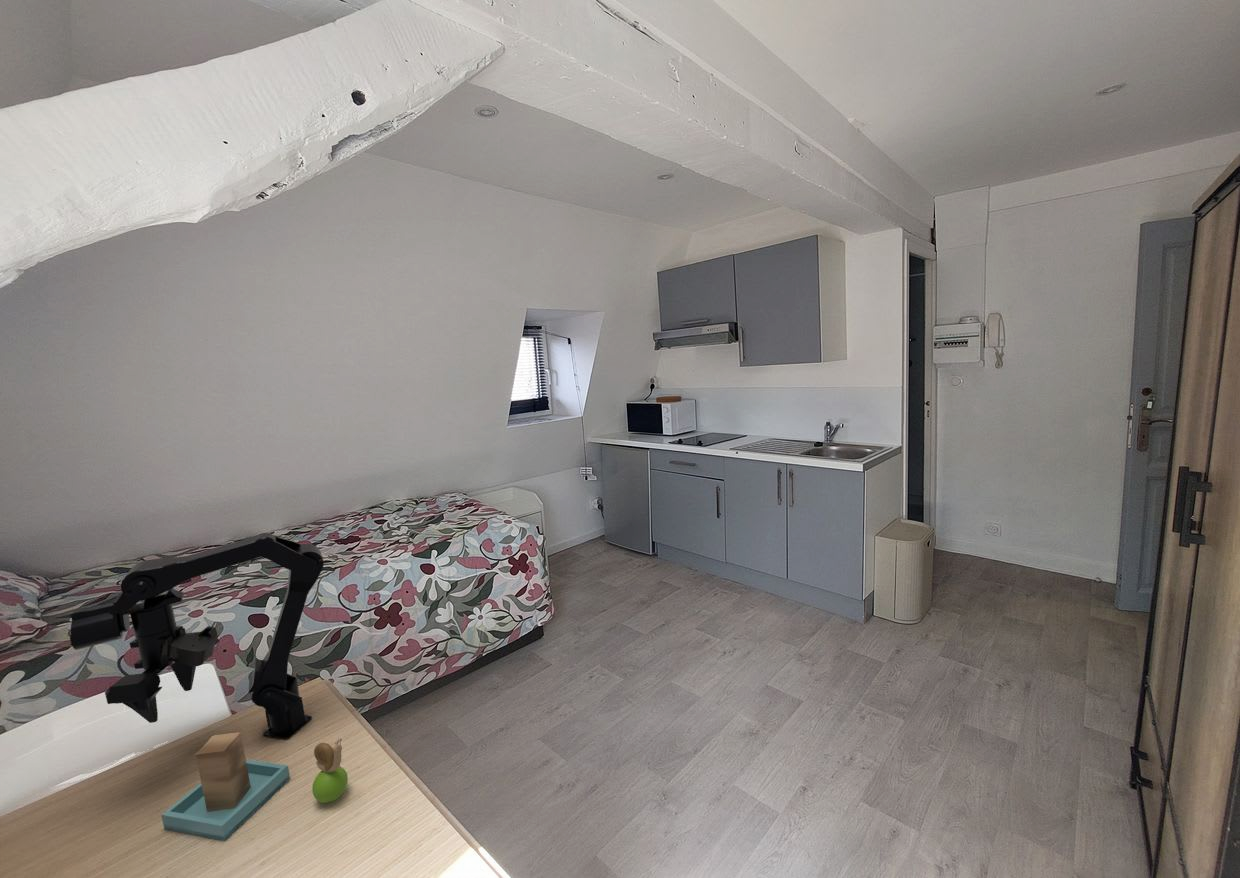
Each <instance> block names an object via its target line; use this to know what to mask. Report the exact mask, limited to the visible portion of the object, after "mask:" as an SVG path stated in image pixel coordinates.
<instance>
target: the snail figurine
mask: <svg viewBox="0 0 1240 878" xmlns="http://www.w3.org/2000/svg"><path fill="white" fill-rule="evenodd" d="M342 751H343V746H342V738H341V737H339V738H338V739H337V740H336V741H335V742H334V746H333V747H332V746H331V745H330V744H328V743H327V742H319V743H318V744H317V745H315V748H314V749H313V754H314V758H315V759H316V762H315V765H316V766H317V768H318V769H319V770H320V772H318V774H317V775H316V776H315V778H314V780H313V782H312V787H311V792H312V796H313V797H314V799H315V801H316V800H317V802H320V803H324V804H326V803H327V804H329V803H331V802H334V801H335V800H337V799H339V797H341V796H342V795H343V794H344V792H345V791H346V788H347V785H348V781H349V777H348V772H347V771H346V769H345V768H344V767H342V766H341V762H342Z"/></svg>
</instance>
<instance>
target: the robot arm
mask: <svg viewBox="0 0 1240 878" xmlns="http://www.w3.org/2000/svg"><path fill="white" fill-rule="evenodd" d="M260 558H264V559H266V560H269V561H271V562H273V563H274V564H276V565H278V566H280V567H282V568H284V569H286V570H288V580H287V581H288V583H287V589H286V593H285V596H284V599H283V603H282V605H281V609H280V612H279V614H278V615H279V616H278V619H277V622H276V626H275V629H274V630H273V631H274V633H273V636H272V639H271V641H270V645H269V647H268V648H269V649H268V651H267V653H266V655H265V656H264V657H263V659H258V658H256V659H255V660H254V666H253V667H254V668H253V671H252V673H250V675H249V678H248V679H249V681H248V694H249V693H251V702H253V704H254V705H255V706H257V707H261V708H262V707H263V709H265V710H264V713H265V717H266V723H267V729H266V730H265V731H264V732H263V733H262V736H263V737H268V738H275V739H283V740H288V739H290V738H291V737H293V736H294V735H295V734H296V733H297V732H298V731H299V730H300V729H301V728H303V727H304V726H305V725H306V724H307V723H309V722H310V721H312V715H307V714H305V709H304V708H305V707H304V703H303V697H302V696H300V691H299V681H298V677H297V676H295V675H292V674H290V673H288V665H289V664H288V663H289V657H290V654H291V650H292V647H293V644H294V640H295V637H296V634H297V631H298V628H299V624H300V622H301V617H302V615H303V610H304V609H305V604H306V601H307V597H308V595H309V593H310V591H311V590H312V589H313V587H314V586H315V584H316V583H317V581H318V579H319V576H320V574H321V573H322V571H323V568H324V563H325V562H324V558H323V555H322V551H321V550H320V548H319V547H318V546H316V545H314V544H311V543H304V544H302V543H298V542H296V541H295V540H294V541H293V540H291V539H286V538H282V537H279V536H277V535H274V534H273V533H270V532H262V533H259V534H257V535H256V536H253V537H249V538H246V539H242V540H238V541H235V542H231V543H229V544H223V545H220V546H218V547H217V546H216V547H215V548H210V549H207V550H203V551H200V552H196V553H194V554H189V555H184V556H167V557H160V558H153V559H152V558H151V559H146V560H142V561H140V562H138V563H136V564H135V565H133V566H132V567H131V568H130V569H129V571H128V572H127V574H126V575H125V576H124V578H123V580H122V581H121V583H120V590H121V593H118V595H117V597H116V598H115V600H114V601H112V602H110V603H104V604H99V605H96V606H91V607H89V606H88V607H81V608H77V609H74V610H73V612H72V613H70V618H71V622H70V623H71V624H70V635H69V640H70V644H71V646H72V648H73V649H74V650H76V651H78V650H82V649H86V648H90V647H94V646H97V645H101V644H106V643H110V642H114V641H117V640H121V639H122V638H123V635H124V633H125V632H129V631H130V627H131V624H132V630H133V633H134V637H135V638H134V639H132V641H131V642H129V647H130V649H134V648H135V649H137V651H138V656H139V660H138V661H136V662H134V664H133V666H134V670H136V669H137V670H138V669H143V671H142V672H141V673H135V674H127V675H124V676H123V677H121V678H120V679H119V680H117V681H116V682H114V684H111V685H110V686H109V687H108V688H107V689H106V690H105V692H104V695H105V699H106V703H107V704H108V705H110V704H117V705H118V704H123V705H125V706H127V707H128V708H129V709H131V710H133V711H134V712H135V713H137V714H138V715H139V716H141V717H142V718H143V719H144V720H146V721H147V722H148V723H157V722H158V720H159V719H158V717H159V716H158V706H157V705H158V704H157V694H158V693H160V691H161V689H162V688H163V686H160V684H161V678H160V674H162V673H163V672H164V671H166V670H167V669H168V668H169V667H171V669H172V671H173V673H174V676H175V677H176V679H177V681H178V683H179V685H180V686H181V688H182V689H183V691H184V692H189V691H192V689H193V684H194V679H195V674H196V673H195V672H196V669H197V667H200V666H201V665H203V664H204V663H205V662H206V661H207V660H208V659H209V658H211V657H212V656H213V654H214V651H215V646H216V645H217V644H219V643H220V639H218V637H219V635H218V632H217V628H216V627H215V626H210V625H208V626H206V627H205V628H203V629H202V630H201V631H195V632H186V628H185V627H184V625H178V626H177V624H176V618H175V613H174V607H173V604H176V603H180V602H182V601H183V599H184V597H185V592H184V591H180V590H178V589H175V588H176V587H178V586H179V585H181V584H182V583H184V582H187V581H189V580H191V579H194V578H197V577H201V576H204V575H207V574H210V573H213V572H216V571H220V570H222V569H226V568H229V567H234V566H236V565H239V564H242V563H246V562H249V561H252V560H256V559H260ZM129 614H130V617H129ZM130 622H131V623H130Z"/></svg>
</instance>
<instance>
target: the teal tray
mask: <svg viewBox="0 0 1240 878" xmlns="http://www.w3.org/2000/svg"><path fill="white" fill-rule="evenodd" d="M246 764H247V769H248V774H249V780H250V785H251V787H250V789H249V790H248V792H247V793H246V794H245V796H244V797H243V798H242V800H241V801H240V802H239V804H238V805H237V807H236V808H233V809H226V810H218V811H211V812H207V809H206V804H205V799H204V794H203V789H202V784H201V782H200V783H199V784H197V785H196V786H195V787H194V788H193V789H192V790H190V791H189V792H188V793H186V794H184V796H183V797H181V798H180V799H179V800H177V802H174V804H173V805H171V806H170V807H169V808H167V810H165V811H164V812H163V813H161V821H162V825H163V829H164V830H167V831H170V832H171V831H172V832H176V833H181V834H186V835H191V836H196V837H201V838H206V839H207V838H208V839H212V840H218V841H221V842H222V841H223V842H226V841H227V840H228V839H229V838H230V837H231V836H232V835H233V834H234V833H235V832H236V831H237V830H239V828H241V826H243V825H244V824H245V823H246V821H248V820H249V819H250V818H251V817H252V816H253V815H254V814H255V813H257V811H258V810H260V809H261V807H263V806H264V805H265V804H266V803H268V801H269V800H270V799H271V798H272V797H273V796H274V795H275V794H276V793H277V792H278V791H279V790H280V789H281V788H283V786H285V785H286V784H287V783H288V781H290V780H291V777H290V770H289V765H287V764H281V763H279V764H278V763H273V762H267V761H266V762H265V761H261V760H260V761H259V760H254V759H246Z"/></svg>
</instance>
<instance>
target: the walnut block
mask: <svg viewBox="0 0 1240 878" xmlns="http://www.w3.org/2000/svg"><path fill="white" fill-rule="evenodd" d="M195 759H196V764H197V769H198V772H199V773H198V774H199V778H200V783H201V784H202V789H203V794H204V799H205V804H206V809H207V812H211V811H218V810H226V809H233V808H236V807H237V805H238V804H239V802H240V801H241V800H242V798H243V797H244V796H245V794H246V793H247V792H248V790H249V789H250V787H251V785H250V780H249V774H248V769H247V764H246V754H245V747H244V743H243V736H242V732H237V731H236V732H231V733H224V734H223V733H222V734H215V735H212V736H211V737H210V738H209V740H207V742H206V743H205V744H204V745H203V746H202V747H201V748H200V749H199V750H198V751H197V752H196V753H195Z"/></svg>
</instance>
